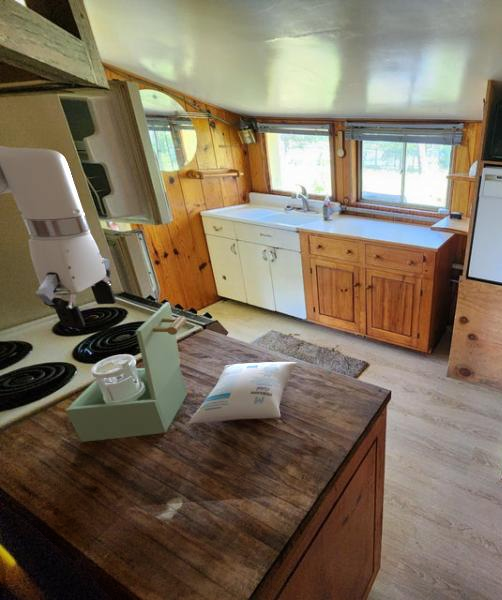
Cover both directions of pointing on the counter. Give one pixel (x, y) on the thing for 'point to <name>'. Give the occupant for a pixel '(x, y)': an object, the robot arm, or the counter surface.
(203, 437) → the counter surface
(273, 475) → the counter surface
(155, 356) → the lid
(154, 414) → the box
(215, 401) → the pouch
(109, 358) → the white cylindrical piece
